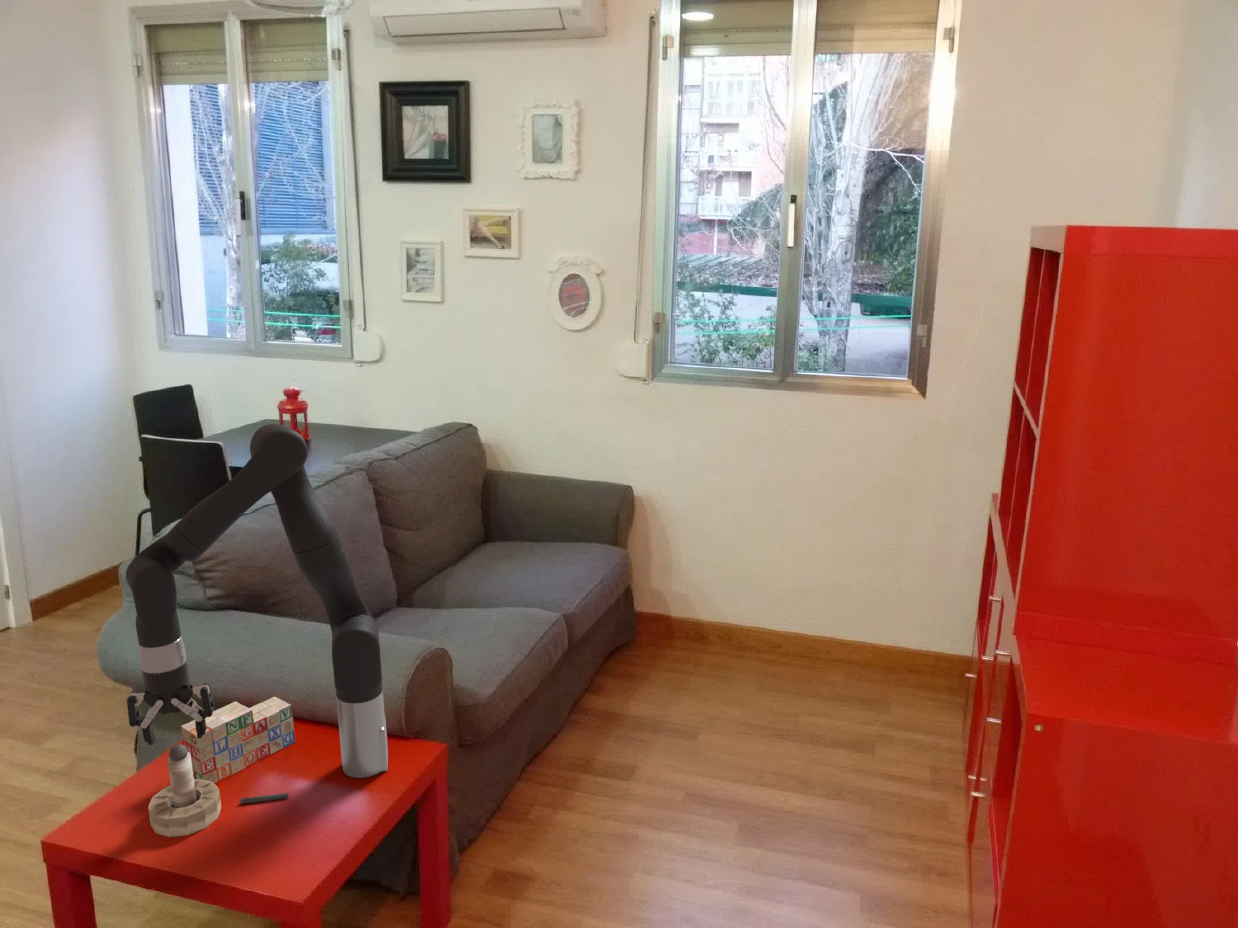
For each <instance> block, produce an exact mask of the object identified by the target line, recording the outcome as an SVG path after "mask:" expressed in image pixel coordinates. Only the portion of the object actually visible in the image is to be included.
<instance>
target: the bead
mask: <svg viewBox="0 0 1238 928" xmlns="http://www.w3.org/2000/svg"><path fill="white" fill-rule="evenodd" d="M194 785H195V792H196V799H197V802H195V803H194V804H192V805H189V806H187V807H183V808H174V804H173V797H172V790H171V784H170V785H167V786H165V787H164V788H162V789H161V790H160V791H158V792H157V793H156V794H155V795H153V796H152V798H151V799H150V802H149V804H148V807H147V808H148V809H147V810H148V815H149V821H150V822H149V824H150V827H151V828H152V829H153V831H154V832H155V834H156V835H160V836H164V837H167V838H174V837H176V838H177V837H181V836H183V837H184V836H190V835H192V834H194V833H197V832H199V831H201V830H204V829H206V828H208V827H209V826H210V825H211V824H212V823H213V822H215V821H216V820H217V819H218V818H219V817H220V816H219V815H220V814H221V809H222V802H221V792H220V789H219V787H218V786H217V785H216V783H213V782H211V781H207V780H202V779H195V780H194Z"/></svg>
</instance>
